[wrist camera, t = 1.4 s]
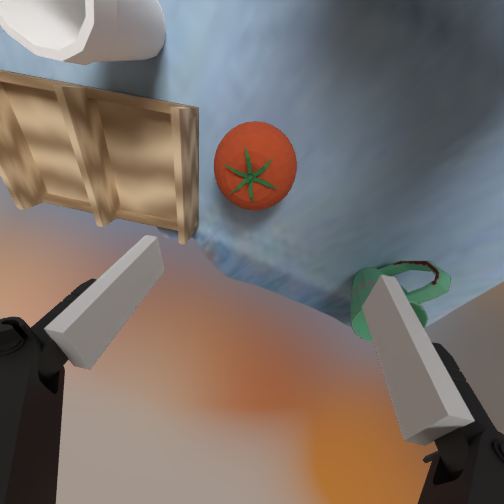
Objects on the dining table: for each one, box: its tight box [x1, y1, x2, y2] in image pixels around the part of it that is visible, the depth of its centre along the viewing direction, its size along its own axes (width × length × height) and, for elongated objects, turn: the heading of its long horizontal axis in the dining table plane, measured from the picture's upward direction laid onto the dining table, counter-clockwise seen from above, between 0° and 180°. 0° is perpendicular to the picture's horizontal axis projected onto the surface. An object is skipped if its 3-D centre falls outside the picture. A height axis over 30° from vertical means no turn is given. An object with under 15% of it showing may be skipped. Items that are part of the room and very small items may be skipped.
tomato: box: [214, 121, 297, 210], centre depth 27 cm, size 10×10×10 cm
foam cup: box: [0, 0, 166, 65], centre depth 19 cm, size 10×9×13 cm
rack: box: [0, 70, 199, 245], centre depth 32 cm, size 18×28×6 cm, turn 81°
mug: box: [351, 261, 451, 342], centre depth 34 cm, size 15×10×10 cm
